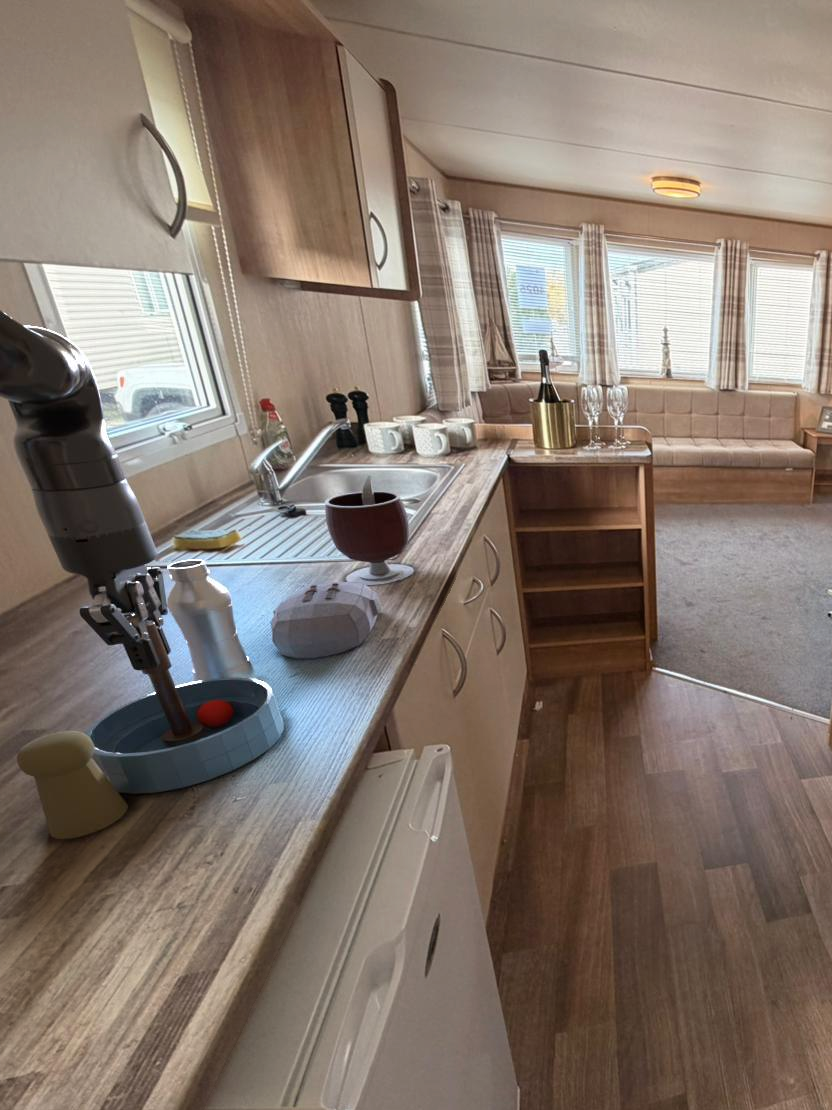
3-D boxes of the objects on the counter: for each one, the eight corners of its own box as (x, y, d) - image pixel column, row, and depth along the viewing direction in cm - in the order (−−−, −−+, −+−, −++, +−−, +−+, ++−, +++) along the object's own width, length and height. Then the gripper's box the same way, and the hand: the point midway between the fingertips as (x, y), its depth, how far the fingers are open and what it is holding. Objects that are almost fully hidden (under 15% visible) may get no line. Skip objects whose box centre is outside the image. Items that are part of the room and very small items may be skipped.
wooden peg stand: (158, 750, 78) (107, 634, 72) (171, 732, 82) (124, 620, 75) (199, 743, 80) (153, 629, 74) (210, 725, 83) (168, 615, 77)
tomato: (187, 724, 81) (200, 697, 82) (196, 723, 84) (209, 696, 85) (222, 731, 83) (234, 704, 84) (229, 729, 86) (242, 703, 87)
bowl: (71, 815, 70) (48, 771, 68) (140, 729, 84) (123, 691, 82) (265, 778, 77) (250, 737, 74) (299, 705, 91) (287, 668, 89)
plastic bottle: (198, 690, 93) (149, 562, 85) (256, 675, 98) (216, 552, 90) (203, 709, 89) (152, 576, 81) (264, 692, 94) (222, 565, 86)
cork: (33, 839, 67) (-15, 753, 62) (99, 800, 72) (59, 719, 68) (83, 847, 66) (38, 761, 62) (146, 807, 71) (108, 726, 67)
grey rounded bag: (293, 618, 116) (259, 670, 99) (281, 576, 112) (243, 622, 96) (390, 608, 121) (373, 656, 105) (380, 568, 118) (361, 610, 101)
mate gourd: (413, 585, 132) (393, 491, 124) (334, 592, 127) (308, 494, 119) (423, 561, 145) (406, 474, 137) (352, 566, 140) (329, 476, 132)
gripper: (83, 509, 74) (138, 641, 81) (9, 546, 62) (80, 697, 69) (167, 505, 77) (213, 633, 84) (111, 540, 65) (170, 684, 72)
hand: (153, 661), depth 76 cm, fingers closed on wooden peg stand, 2 cm apart
